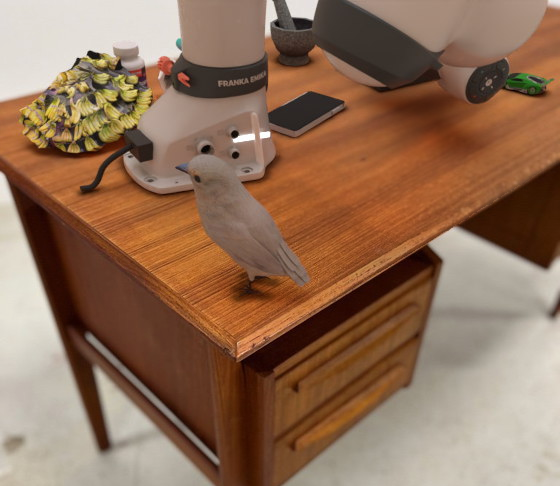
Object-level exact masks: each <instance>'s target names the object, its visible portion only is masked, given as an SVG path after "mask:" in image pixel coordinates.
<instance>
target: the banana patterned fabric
mask: <svg viewBox="0 0 560 486" xmlns="http://www.w3.org/2000/svg"><path fill="white" fill-rule="evenodd" d="M152 89H153V88H151V87H149V86H148V87H146V86H144V85H142V84H141V83H140V82H139V80H138V77H137V76H136V75H133V74H132V73H130V72H129V71H127V70H126V69H125V68H124V67H123V66H122V65H121V59H120V57H116V56H114V57H113V56H111V54H109V53H106V52H103V53H102V52H97V51H94V50H90V49H89V50H87V52H86V56H85V55H84V56H82V57H79V56H78V57H76V58H75V61H74V63H73V64H72V66H71V68H69V69H68V70H65V71H61V72H59V73H58V74H57V75H56V77H55V78H54V79H53V81H52V83H50V84H49V86H48V87H47V88H46V89H45V90H44V91H43V92H42V93H41V94H40V95H39V96H37V98H36V99H35V100H33V101H32V102H31V103H29V104H27V105H26V106H24V107H22V108H20V109H18V111H19V112H20V118H19V120H18V123H19V124H20V125H23V127H24V129H23V130H22V131H21V134H22V135H23V136H25V137H26V138H28V139H29V140H30V142H31V143H34V144H35V145H36V147H37V149H59V150H61V151H62V152H64V153H72V154H78V153H95V152H97V151H99V150H102V148H103V147H105V146H106V145H107V144H109V143H114V142H118V141H119V139H121V137H124V132H127V131H131V130H136V129H137V125H138V121H139V118H140V117H141V115H142V114H143V113H144V112H145V111H146V110H147V109H149V108H150V107H151V106H152V104H153V98H154V95H153V90H152Z"/></svg>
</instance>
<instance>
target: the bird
mask: <svg viewBox="0 0 560 486" xmlns="http://www.w3.org/2000/svg"><path fill="white" fill-rule="evenodd" d="M175 168H176V169H178V170H180V171H182V172H185V173H187V174H189V175H190V178H191V180H192V184H193V188H194V189H193V191H194V192H193V193H194V197H195V203H196V207H197V211H198V215H199V218H200V221H201V226H202V228H203V230H204V232H205V234H206V235H207V236H208V237H209V239H210V240H211V241H212V242H213V243H214V244H216V245H217V246H218V247H219V248H220V249H221V250H223V251H224V252H225V254H227V255H228V256H229V257H230V259H231V260H232V261H233V262H234V263H235V264H236V265H238V266H239V267H240V268H242V269H244V270H245V271H246V273H247V274H246V276H248V280H247V281H246V282H247V283H248V284H243V286H244V288H239V289H238V291H243V292H241V293H240V294H239V296H238V298H240V297H241V296H243V295H249V296H251V295H254V294H260V295H263V296H264V294H263V292H261V291H259V290H255V289H254V288H253V287H252V283H253V281H254V280H255V281H260V280H263V279H266V280H269V281H272V279H271V278H270V277H281V278H286V277H289V279H291V280H292V281H293V282H295V284H296V285H297V286H298V287H300V288H302V287H304V286H305V284H309V283H310V281H311V277H310V275H309V274H308V272H307V269H306V267H305V266H304V265H303V264H302V263H301V261H300V257H299V256H297V255H296V253H295V252H294V251H293V249H291V247H290V246H289V245H288V244H287V242H286V240H285V238H284V236H283V234H282V233H281V231H280V229H279V227H278V225H277V224H276V223H277V222H275V219H273V217H272V215H271V213H269V211H268V210H267V209H266V207H264V205H263V204H262V203H260V202H259V201H258V200H257V199H256V198H254V197H253V195H252V194H251V193H250V192H249V190H247V188H246V187H245V186H244V184H243V183H242V182H240V180H239V179H238V177H237V175H236V174H235V172H234V171H233V169H232V168H231V167H230V166H229V165H228V164H227V163H226V162H224V161H223V160H221V159H220V158H218V157H215V156H213V155H207V154H201V155H198V156H196V157H194V158H193V159H192V160H191V161H190V162H188V163H184V164H181V165H178V166H176V167H175Z"/></svg>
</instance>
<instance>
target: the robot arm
mask: <svg viewBox="0 0 560 486" xmlns="http://www.w3.org/2000/svg"><path fill="white" fill-rule="evenodd" d="M176 1H177V11H178V13H177V14H178V22H179V23H178V24H179V33H180V38H181V44H182V51H181V52H180V54H179V56H178V58H177V59H176V62H175V63H174V62H173V61H172V60H170V59H169V58H168V57H169V56H166V55H163V56H160V57H159V58H158V60H157V61H156V62H157V64H156V66H157V68H158V70H159V72H160V71H162V72H163V73H164V74H166V75H171V81H172V85H171V86H170V87H169V88H168V89H167V90H166V91H165V93H163V94H161V95H160V96H159V98H157V100H156V101H154V102H153V103H152V104H151V105H150V108H149V109H147V110H146V111H145V112H144V113H143V114H142V115H141V117H140V118H139V121H138V125H137V127H136V128H135V129H133V130H131V131H127V132H124V135H123V137H124V138H123V139H124V143H125V146H123V147H121V148H120V149H118V150H116V151H115V152H114V153H112V154H110V155H109V156H108V157H107V158H105V159H104V160H103V162H102V163H100V165H99V167H98V170H97V172H96V175H95V178H94V180H93V181H92V182H91V183H90V184H86V185H85V184H84V185H80V186H79V189H80V192H81V193H85V192H90V191H93V190H95V189H96V188H97V187H99V185H100V184H101V182H102V180H103V177H104V174H105V171H106V170H107V168H108V167H109V166H110V165H111V164H112V163H113V162H114V161H115V160H117V159H118V158H121V157H122V156H123V157H122V159H123V167H124V168H125V171H126V172H127V174H128V175H129V177H130V178H131V179H132V180H133V181H134V182H135V183H136V184H137V185H139V186H140V187H141V188H143V189H145V190H147V191H149V192H152V193H156V194H159V195H164V194H172V193H179V192H183V191H191V190H194V188H193V184H192V180H191V178H190V175H189V174H187V173H185V172H182V171H180V170H178V169H176V168H175V167H176V166H178V165H181V164H184V163H188V162H190V161H191V160H192V159H193V158H194V157H196V156H198V155H201V154H207V155H213V156H215V157H218V158H220V159H221V160H223V161H224V162H226V163H227V164H228V165H229V166H230V167H231V168H232V169H233V171H234V172H235V174H236V175H237V177H238V179H239V180H240V182H241V183H242V182H248V181H254V180H259V179H262V178H263V177H264V176H265V174H266V168H267V166H268V165H270V164H271V163H272V162H273V160H274V159H275V158H276V155H277V149H276V145H275V143H274V140H273V134H272V130H271V129H270V124H269V118H268V113H269V110H268V101H267V92H268V89H269V54H268V52H267V51H266V19H267V18H266V17H267V2H268V0H176ZM548 3H549V0H317V3H316V6H315V11H314V14H313V18H312V20H313V24H312V34H313V37H314V40H315V43H316V45H315V47H318V48H319V49H321V52H322V53H323V55H324V57H325V58H326V59H327V61H328V62H329V64H330V65H332V67H333V68H334V69H335V70H336V71H337V72H338V73H340V74H341V75H342V76H343V77H345V78H347V79H348V80H350V81H352V82H355V83H358V84H360V85H363V86H369V87H371V86H376V87H386V86H387V87H389V88H391V89H390V90H394V89H397V88H396V87H399V86H402V85H405V84H408V83H411V82H413V81H414V80H416V79H417V78H418V77H420V76H421V75H422V76H423V77H425V78H428V79H433V81H436V83H437V85H438V86H439V87H440V88H441V89H442V90H444V91H445V92H446V93H448V94H449V95H450V96H452V97H454V98H455V99H456V100H459V101H460V102H463V103H465V104H467V105H472V106H476V105H477V106H478V105H481V104H484V103H486V102H488V101H490V100H491V99H492V98H494V97H495V96H496V95H497V94H498V93H499V91H501V90H502V87H503V86H504V84H505V82H506V80H507V78H508V75H509V74H510V62H509V60H508V57H509V56H510V55H512V54H513V53H514V52H517V51H518V50H519V49H521V47H522V46H523V45H525V44H526V43H527V42H528V41H529V39H530V38H531V37H532V36H533V35H534V34H535V32H536V31H537V29H538V28H539V27H540V25H541V22H542V20H543V19H544V16H545V14H546V11H547V7H548ZM393 88H394V89H393ZM399 88H400V87H399ZM503 88H504V87H503Z"/></svg>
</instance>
